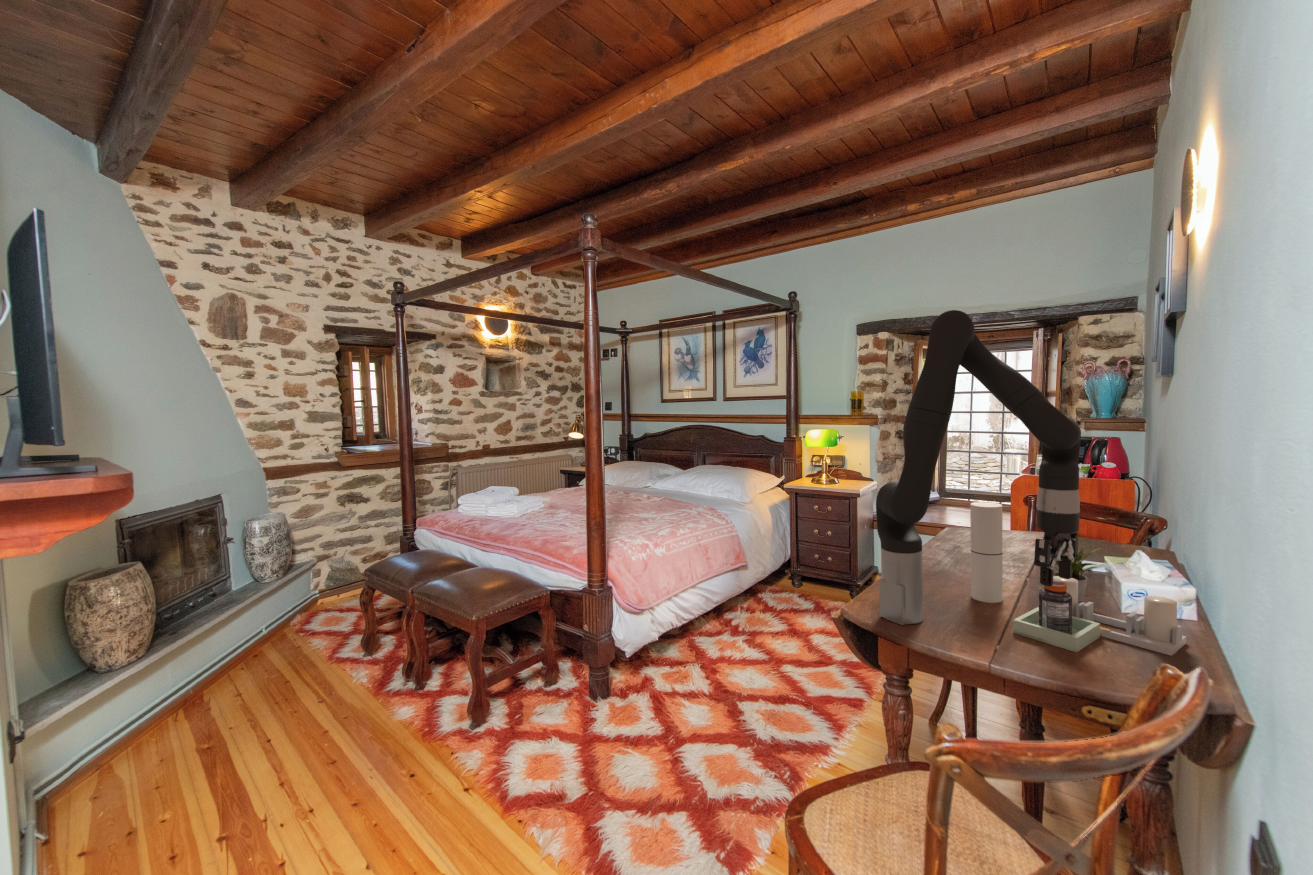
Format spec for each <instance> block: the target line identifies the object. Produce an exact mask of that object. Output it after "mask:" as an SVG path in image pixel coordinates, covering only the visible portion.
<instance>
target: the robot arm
mask: <svg viewBox="0 0 1313 875" xmlns="http://www.w3.org/2000/svg"><path fill="white" fill-rule="evenodd" d="M974 324H975V323H974V321H973V319H972V318H971V316H970V315H969V314H968V313H966V312H965V311H962V310H961V309H948V310H947V311H944V312H942V313H941V314H939V315H938V316H937V317H936V318H935V319H934V320H933V322H932V323H931V326H930V328H929V335H928V341H927V348H926V352H925V358H924V364H923V367H922V368H921V370H922V371H921V372H920V375H919V378H918V380H917V383H916V385H915V388H914V391H913V394H912V397H911V399H910V402H909V405H908V408H907V412H906V416H905V418H904V423H903V430H902V438H903V440H902V441H903V450H904V451H903V453H904V461H903V467H902V470H901V475H900V476H899V480H898V481H890V482H887V483H885V484H883V486H881V487H880V488H879V490H878V492H877V494H876V500H875V501H876V502H875V514H876V529H877V534H878V537H879V538H878V539H879V540H880V565H881V566H880V570H881V571H880V572H881V575H880V578H881V579H879V617H880V616H882V617H884V618H886V619H888V620H887V621H889V620H890V621H889V622H892V623H896V624H898V625H900V626H904V625H914V624H915V625H917V624H921V623H922V622H923V621H924V594H923V592H924V591H923V586H924V585H923V540H922V537H921V536H920V535H919V533H918V531H917V529H916V526H915V524H917V523H918V522H920V521H921V520H922V519H923V518H924V516H926V513H927V512H928V508H929V503H930V498H931V492H932V486H933V481H934V479H933V478H934V474H935V470H936V467H937V462H938V459H939V457H940V453H941V449H942V446H943V445H942V444H943V443H944V442H943V441H944V438H945V435H946V434H947V429H948V426H949V423H950V419H951V415H952V412H953V406H954V401H955V395H956V386H957V385H956V384H957V378H958V377H957V376H958V372H959V368H960V366H961V367H962V368H964V369H965V370H966V371H967V372H969V373H970V374H971V375H972V376H974V378H975V379H976V380H978V381H979V383H981V384H982V385H983V386H984V388H985V389H987V390H988V391H989V393H991V394H992V396H994V397H995V398H996V399H997V400H998V401H999V402H1000V404H1002V405H1003V406H1004V407H1005V408H1006V409H1007V410H1008V411H1009V412H1010V413H1012V414H1013V415H1014V416H1015V417H1016V418H1018V419H1019V420H1020V421H1021V423H1022V424H1023V425H1024V426H1025V427H1026V428H1027V429H1028V430H1029V432H1030V433H1031V434H1032V435H1033V437H1035V438H1036V440H1038V441H1039V442H1040V443H1041V462H1040V465H1039V469H1038V490H1037V495H1036V520H1035V522H1036V523H1035V524H1036V528H1037V529H1038V530H1040V531H1043V533H1044V534H1043V536H1042V537H1043V538H1041V537H1040V538H1039V537H1036V538H1035V543H1034V560H1033V561H1034V562H1033V565H1034V566H1036V567H1039V569H1040V570H1039V572H1040V573H1039V584H1040V585H1042V586H1044V585H1045V586H1052V585H1053V573H1054V568H1055V566H1056V565H1055V564H1056V561H1059V566H1058V570H1059V571H1058V572H1059V577H1060V578H1064V579H1070V578H1071V575H1072V562H1073V561H1074V558H1077V557H1078V554H1079V553H1078V552H1079V551H1078V550H1079V548H1078V546H1079V543H1078V542H1079V538H1078V537H1079V536H1078V534H1079V533H1078V532H1079V531H1080V516H1081V514H1080V512H1081V498H1080V490H1079V488H1080V467H1079V459H1080V449H1081V439H1082V431H1081V427H1080V425H1079V423H1077V421H1076V420H1074V419H1072V418H1071V417H1067V416H1066V415H1065V414H1064V413H1063V412H1061V411H1060V409H1059V408H1057V407H1056V406H1054V405H1053V404H1052V403H1051V402H1050V400H1049V399H1048V397H1047V396H1046V395H1045V394H1044V393H1043V392H1042V391H1041V390H1040V389H1039V388H1037V387H1036V385H1034V384H1033V383H1032V382H1031V381H1030V380H1029V379H1028V378H1026V377H1025V376H1024V375H1022V374H1021V373H1020V372H1019V371H1017V370H1016V369H1015V368H1013V367H1011V366H1010V365H1008V364H1007V363H1006V362H1004V361H1002V360H1001V359H1000V358H998V357H997V356H996V355H995V354H994V353H993V352H991V351H990V349H988V348H987V347H986V346H985V344H984V343H983V342H982V340H980V338H979V337H978V335H977V334H976V332H975V325H974ZM886 619H885V620H886Z"/></svg>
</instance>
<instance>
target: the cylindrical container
mask: <svg viewBox="0 0 1313 875" xmlns="http://www.w3.org/2000/svg"><path fill="white" fill-rule="evenodd" d="M969 506H970V514H969V515H970V516H969V517H970V597H971V598H972V599H973V600H975V601H979V602H982V603H988V604H989V603H991V604H997V603H1002V602H1003V601H1004V600H1003V595H1004V592H1003V591H1004V590H1003V588H1004V587H1003V586H1004V585H1003V579H1004V578H1003V572H1004V571H1003V570H1004V569H1003V566H1004V565H1003V560H1004V559H1003V550H1004V549H1003V546H1004V545H1003V504H1001V503H997V502H992V501H991V502H990V501H976V502H974V501H973V502H970V505H969Z"/></svg>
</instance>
